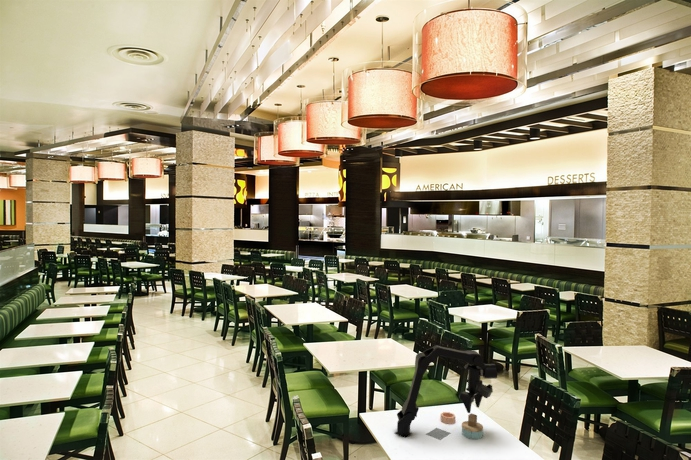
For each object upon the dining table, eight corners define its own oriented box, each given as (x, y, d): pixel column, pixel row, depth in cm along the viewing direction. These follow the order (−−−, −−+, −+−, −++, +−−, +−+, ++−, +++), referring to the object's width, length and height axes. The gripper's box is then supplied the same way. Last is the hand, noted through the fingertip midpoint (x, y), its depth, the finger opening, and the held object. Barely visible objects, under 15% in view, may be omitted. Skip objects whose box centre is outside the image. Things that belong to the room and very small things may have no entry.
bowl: (476, 441, 216) (476, 433, 216) (459, 435, 222) (459, 427, 222) (484, 435, 223) (485, 427, 223) (467, 429, 229) (468, 421, 229)
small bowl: (450, 426, 232) (450, 419, 232) (438, 421, 237) (438, 414, 237) (457, 421, 237) (457, 415, 237) (445, 417, 242) (445, 411, 242)
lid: (477, 433, 215) (477, 421, 215) (457, 427, 222) (458, 415, 222) (486, 427, 223) (487, 415, 223) (467, 420, 230) (468, 409, 229)
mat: (440, 440, 216) (440, 439, 216) (425, 435, 221) (425, 434, 221) (450, 433, 224) (451, 433, 224) (436, 428, 229) (436, 427, 229)
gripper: (481, 387, 210) (480, 421, 210) (498, 377, 224) (497, 409, 224) (458, 381, 217) (458, 413, 218) (477, 372, 231) (476, 402, 231)
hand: (473, 410), depth 222 cm, fingers open, 9 cm apart
